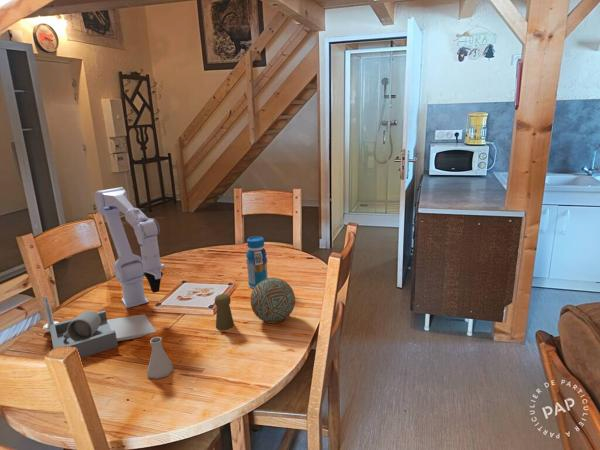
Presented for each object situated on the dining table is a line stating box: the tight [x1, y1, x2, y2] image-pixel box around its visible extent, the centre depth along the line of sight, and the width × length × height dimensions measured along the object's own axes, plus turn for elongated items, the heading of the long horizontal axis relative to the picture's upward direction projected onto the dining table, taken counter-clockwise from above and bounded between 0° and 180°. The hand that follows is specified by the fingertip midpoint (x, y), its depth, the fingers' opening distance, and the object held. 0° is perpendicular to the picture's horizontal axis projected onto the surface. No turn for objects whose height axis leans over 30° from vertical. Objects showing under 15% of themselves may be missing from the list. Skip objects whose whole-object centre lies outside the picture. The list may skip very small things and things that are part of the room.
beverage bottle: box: [245, 235, 269, 289], centre depth 165 cm, size 8×8×20 cm
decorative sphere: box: [250, 277, 296, 324], centre depth 137 cm, size 15×15×15 cm
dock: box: [49, 310, 157, 359], centre depth 132 cm, size 18×29×6 cm, turn 125°
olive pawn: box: [214, 293, 235, 331], centre depth 135 cm, size 6×6×11 cm
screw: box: [42, 295, 60, 334], centre depth 135 cm, size 13×5×5 cm
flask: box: [146, 336, 174, 380], centre depth 112 cm, size 7×7×10 cm
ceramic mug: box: [63, 310, 101, 342], centre depth 128 cm, size 11×8×8 cm
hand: (155, 291), depth 142 cm, fingers closed
